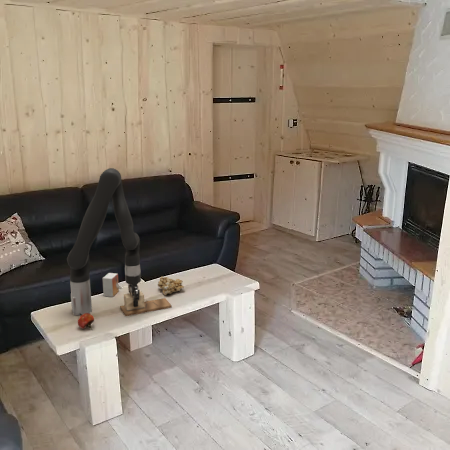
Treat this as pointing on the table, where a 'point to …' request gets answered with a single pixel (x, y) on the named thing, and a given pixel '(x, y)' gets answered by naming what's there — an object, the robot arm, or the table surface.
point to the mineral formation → (170, 285)
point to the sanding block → (129, 301)
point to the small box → (110, 284)
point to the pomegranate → (85, 320)
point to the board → (148, 307)
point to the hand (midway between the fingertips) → (134, 304)
